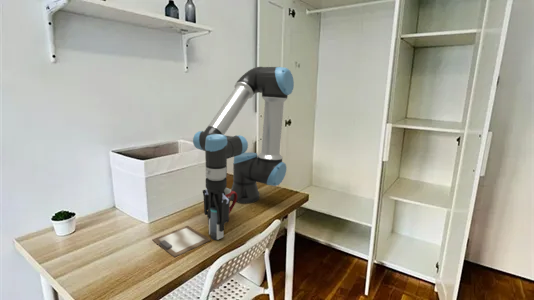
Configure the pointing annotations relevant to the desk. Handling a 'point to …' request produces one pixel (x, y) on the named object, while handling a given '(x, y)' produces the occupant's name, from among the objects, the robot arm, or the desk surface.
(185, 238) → the clipboard
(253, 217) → the desk surface
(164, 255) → the desk surface
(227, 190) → the mug
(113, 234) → the desk surface
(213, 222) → the grey cylinder
